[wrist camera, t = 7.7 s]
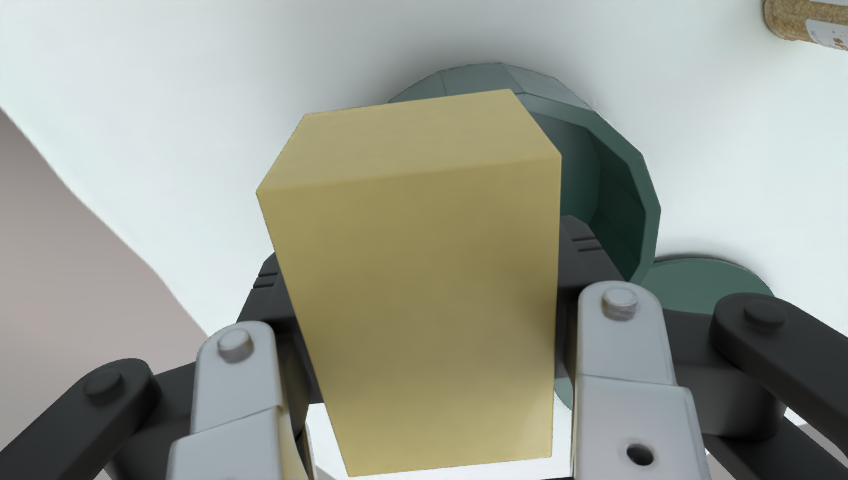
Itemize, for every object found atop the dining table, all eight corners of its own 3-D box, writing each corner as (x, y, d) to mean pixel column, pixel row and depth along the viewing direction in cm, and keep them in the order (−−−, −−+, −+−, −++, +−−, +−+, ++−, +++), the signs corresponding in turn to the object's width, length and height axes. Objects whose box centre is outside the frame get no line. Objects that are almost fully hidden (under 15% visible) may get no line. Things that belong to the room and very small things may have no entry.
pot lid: (547, 269, 36) (570, 323, 31) (799, 238, 35) (867, 288, 30) (546, 429, 46) (564, 490, 40) (745, 407, 45) (789, 467, 40)
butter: (304, 113, 10) (254, 191, 7) (510, 88, 10) (562, 153, 7) (362, 350, 14) (347, 478, 11) (516, 333, 14) (552, 458, 10)
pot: (322, 85, 29) (297, 123, 22) (618, 43, 28) (682, 70, 22) (375, 312, 38) (368, 386, 31) (600, 285, 37) (640, 355, 31)
